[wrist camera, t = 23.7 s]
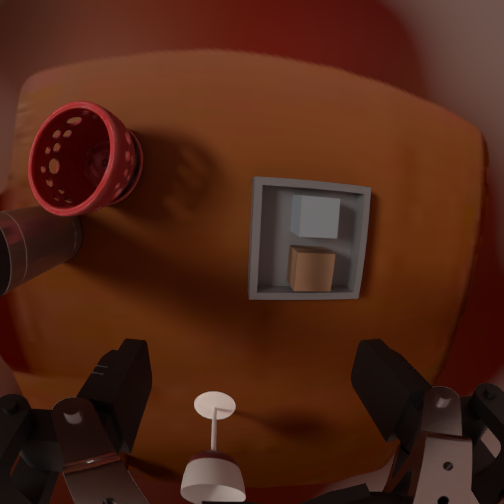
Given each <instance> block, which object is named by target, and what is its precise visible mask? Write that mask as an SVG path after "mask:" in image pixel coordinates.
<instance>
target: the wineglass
mask: <svg viewBox="0 0 504 504" xmlns="http://www.w3.org/2000/svg"><path fill="white" fill-rule="evenodd" d="M194 406H195V409H196V411H197V412H198V413H199V414H200V415H202V416H204V417H206V418H209V419H212V439H211V450H205V451H200V452H198V453H196V454H194V455H193V456H192V457H191V458H190V460H189V462H188V464H187V467H186V470H185V472H184V476H183V480H182V485H181V495H182V496H183V497H184V498H185V499H186V500H188V501H190V502H193V503H196V504H202V501H221V502H241V501H244V500H245V488H244V483H243V479H242V475H241V472H240V469H239V466H238V464H237V462H236V461H235V460H234V459H233V458H232V457H231V456H229V455H227V454H225V453H223V452H220V451H216V425H217V419H223V418H226V417H228V416H230V415H231V414H232V413H233V412H234V410H235V408H236V407H235V402H234V400H233V399H232V398H231V397H230V396H228V395H226V394H224V393H220V392H206V393H203V394H201V395H199V396H198V397H197V398H196V400H195V403H194Z"/></svg>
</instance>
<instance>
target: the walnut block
mask: <svg viewBox="0 0 504 504" xmlns="http://www.w3.org/2000/svg"><path fill="white" fill-rule="evenodd" d="M334 262H335V254H334V253H333V252H331V251H329V250H328V249H326V248H325V247H320V246H302V245H289V256H288V266H287V276H286V280H287V281H288V283H289V284H290V286H291V287H292V289H293V291H331V284H332V277H333V270H334Z"/></svg>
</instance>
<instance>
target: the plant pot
mask: <svg viewBox="0 0 504 504" xmlns="http://www.w3.org/2000/svg"><path fill="white" fill-rule="evenodd" d="M73 117H81V119H80V120H78V121H77V122H74V123H71V124H69V123H67V120H69V119H70V118H73ZM56 130H59V133H58V135H57V136H56V137H54V138H53V137H52V136H53V134H54V132H55V131H56ZM67 130H71V131H70V133H69V134H68V135H67V136H65V137H63V134H64V133H65V131H67ZM56 143H58V144H59V146H58V149H57V150H56V151H53V148H54V145H55V144H56ZM47 147H48V151H47V153H45V150H46V148H47ZM53 158H54V159H55V160H56V161H57V170H56V172H55V173H54V174H52V173H51V172H50V171H49V162H50V161H51V159H53ZM41 166H42V167H43V173H42V172H41ZM142 169H143V151H142V147H141V144H140V142H139V140H138V139H137V137H136V136H135V135H134V134H133V133H132V132H131V131H130V130H129V129H127V128H126V127H125V126H124V124H123V123H122V122H121V121H120V120H119V119H118V118H117V117H116V116H115V115H113V114H112V113H111V112H109V111H108V110H106V109H105V108H103V107H101V106H100V105H98V104H95V103H92V102H88V101H75V102H71V103H69V104H66V105H64V106H62V107H60V108H59V109H57V110H56V111H55V112H54V113H52V114H51V115H50V116H49V117H48V118H47V119H46V121H45V122H44V123H43V124H42V126H41V128H40V129H39V131H38V133H37V135H36V137H35V139H34V142H33V144H32V147H31V151H30V155H29V163H28V175H29V182H30V186H31V189H32V192H33V194H34V196H35V198H36V200H37V201H38V203H39V204H40V205H41V206H42V207H43V208H44V209H45V210H47V211H48V212H50V213H52V214H54V215H58V216H78V215H83V214H88V213H91V212H94V211H97V210H99V209H101V208H103V207H105V206H108V205H113V204H116V203H118V202H120V201H121V200H123V199H124V198H126V197H127V196H128V195H129V194H130V193H131V192H132V191H133V190H134V188H135V187H136V185H137V183H138V181H139V179H140V176H141V173H142ZM46 179H47V180H48V181H49V182H50V186H51V187H50V186H48V185H47V183H46ZM58 189H59V190H61V191H62V192H63V194H61V193H60V192H59V191H58ZM54 198H55V199H57V200H55V199H54ZM64 200H67V201H69V202H70V203H67V202H65V201H64Z"/></svg>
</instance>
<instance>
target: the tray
mask: <svg viewBox="0 0 504 504" xmlns="http://www.w3.org/2000/svg"><path fill="white" fill-rule="evenodd" d="M293 195H303V196H315V197H326V198H336V199H340V210H339V223H338V233H337V239H336V238H316V237H299V236H297V235H296V234H294V233H293V232H291V231H290V229H291V214H292V199H293ZM370 197H371V187H364V186H356V185H348V184H339V183H330V182H320V181H309V180H298V179H285V178H270V177H253V180H252V201H251V222H250V244H249V266H248V288H247V291H248V297H249V300H324V299H358V298H359V292H360V286H361V280H362V273H363V266H364V258H365V250H366V242H367V233H368V222H369V211H370ZM289 245H302V246H320V247H325V248H326V249H328V250H329V251H331V252H333V253H334V254H335V262H334V270H333V277H332V284H331V291H293V289H292V287H291V286H290V284H289V283H288V281H287V280H286V276H287V266H288V256H289Z"/></svg>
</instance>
